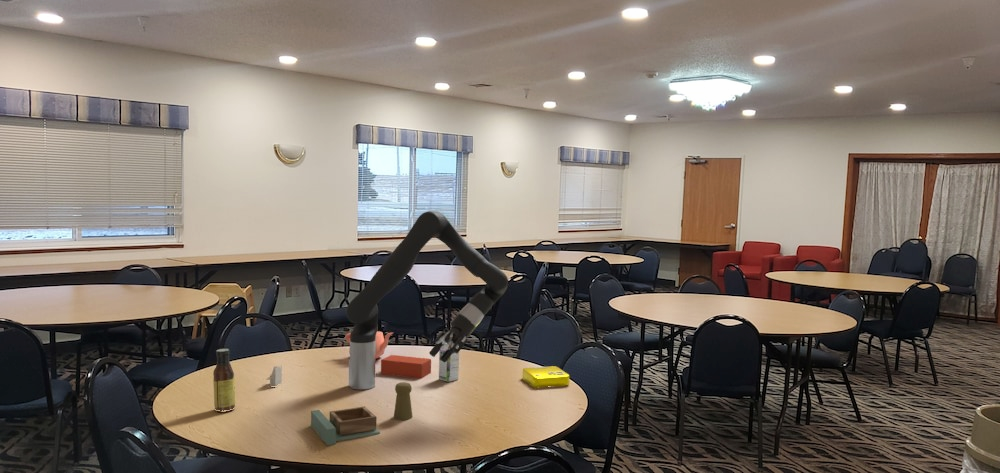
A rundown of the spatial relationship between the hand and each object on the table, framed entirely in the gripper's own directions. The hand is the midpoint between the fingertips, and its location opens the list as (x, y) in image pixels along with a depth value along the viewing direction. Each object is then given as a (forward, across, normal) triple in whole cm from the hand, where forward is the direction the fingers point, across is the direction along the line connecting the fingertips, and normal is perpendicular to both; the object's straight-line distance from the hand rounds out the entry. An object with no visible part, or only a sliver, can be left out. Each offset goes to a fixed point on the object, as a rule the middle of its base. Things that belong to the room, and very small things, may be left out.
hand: (436, 357), depth 212 cm
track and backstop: (+35, +4, -10) cm, 36 cm away
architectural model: (+41, -54, -17) cm, 69 cm away
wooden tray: (+33, +4, -8) cm, 34 cm away
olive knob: (+21, 0, +4) cm, 21 cm away
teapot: (+10, -77, +14) cm, 79 cm away
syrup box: (-1, -32, +27) cm, 42 cm away
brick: (+7, -48, +19) cm, 52 cm away
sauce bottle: (+55, -32, -31) cm, 71 cm away
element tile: (-23, -13, +50) cm, 57 cm away
